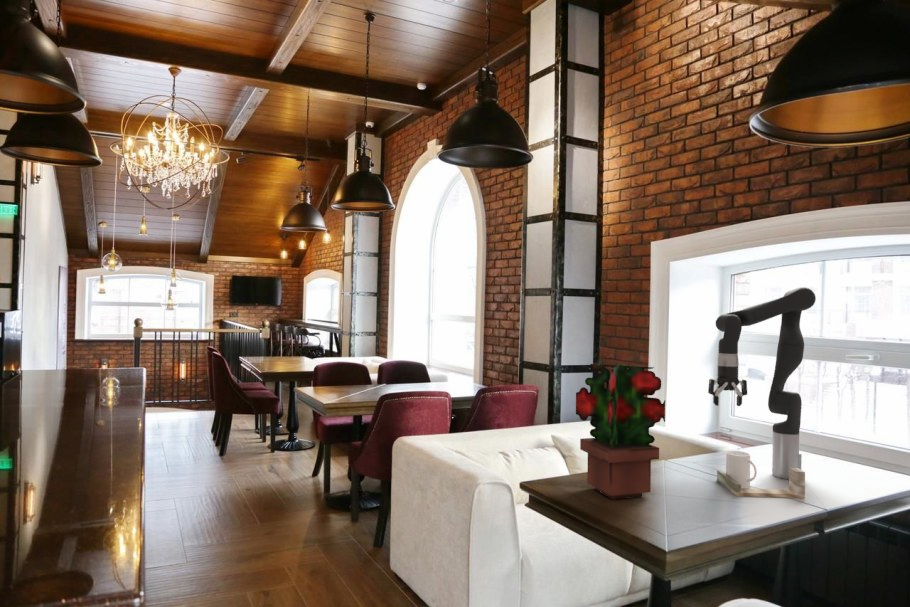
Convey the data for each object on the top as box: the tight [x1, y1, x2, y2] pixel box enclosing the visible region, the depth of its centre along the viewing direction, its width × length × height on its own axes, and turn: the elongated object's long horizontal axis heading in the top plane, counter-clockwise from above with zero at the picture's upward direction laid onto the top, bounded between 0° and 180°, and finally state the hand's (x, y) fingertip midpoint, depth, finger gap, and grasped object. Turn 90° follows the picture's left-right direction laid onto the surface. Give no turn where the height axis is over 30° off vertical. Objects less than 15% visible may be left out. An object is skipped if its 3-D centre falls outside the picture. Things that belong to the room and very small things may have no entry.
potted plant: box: [575, 363, 666, 500], centre depth 218 cm, size 22×22×45 cm
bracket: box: [716, 468, 806, 499], centre depth 224 cm, size 23×19×9 cm
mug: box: [725, 450, 757, 489], centre depth 227 cm, size 12×8×12 cm
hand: (727, 405), depth 245 cm, fingers open, 8 cm apart
